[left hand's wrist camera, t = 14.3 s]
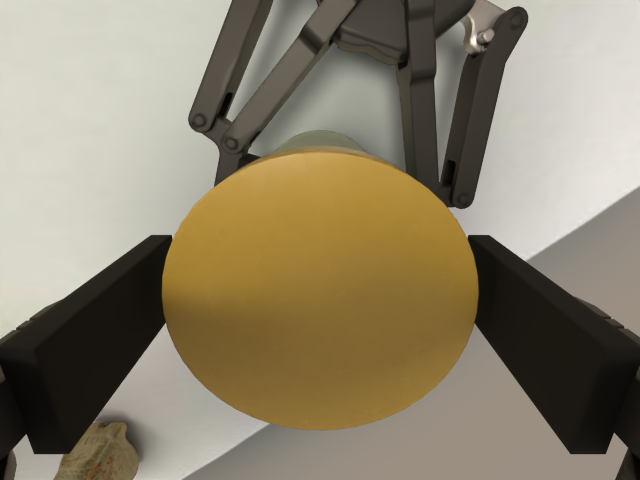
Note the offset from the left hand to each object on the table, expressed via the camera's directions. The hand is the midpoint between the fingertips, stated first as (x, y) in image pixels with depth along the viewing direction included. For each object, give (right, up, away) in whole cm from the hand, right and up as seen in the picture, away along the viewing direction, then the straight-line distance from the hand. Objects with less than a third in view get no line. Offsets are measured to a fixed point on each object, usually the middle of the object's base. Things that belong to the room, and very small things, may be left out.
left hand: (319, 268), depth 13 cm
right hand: (-1, -1, +9) cm, 9 cm away
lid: (0, -1, -3) cm, 3 cm away
